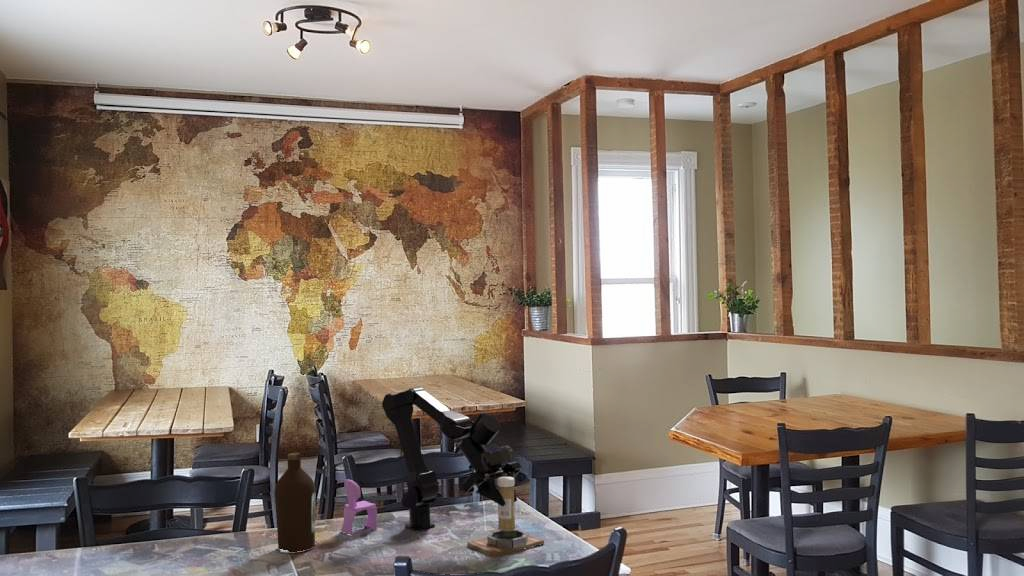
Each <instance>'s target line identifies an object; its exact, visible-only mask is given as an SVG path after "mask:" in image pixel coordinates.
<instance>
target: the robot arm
mask: <svg viewBox="0 0 1024 576" xmlns="http://www.w3.org/2000/svg"><path fill="white" fill-rule="evenodd" d="M414 405H415V407H417V408H418V409H419V410H421V411H422V412H423V413H424V414H426V415H427V416H428V417H430V419H432V420H433V421H435V422H436V423H437V424H438V425H439V428H440V432H441V433H442V434H443V435H444V436H445V437H446V438H447V439H448V440H450V441H455V440H460V439H462V440H461V441H460V442H457V443H455V448H454V454H456V455H457V454H463V456H464V457H465V459H466V460H467V461H468V463H469V466H468V469H469V470H470V471H472V470H474V472H471V473H469V475H468V476H467V477H466V479H465V480H464V481H463V482H462V483H461V488H462V491H463V492H464V494H465V495H469V494H473V493H474V491H475V487H476V488H477V490H476V491H475V493H476V494H477V495H481V496H483V497H485V498H487V499H489V500H491V501H493V502H494V503H496V504H497V505H498V504H499V505H501V506H504V505H505V501H504V499H503V498H502V496H501V494H500V493H499V491H498V486H496V484H495V483H496V482H495V481H497V479H498V478H499V477H513V478H514V479H515V477H516V476H517V475H518V474H519V472H521V470H523V467H522V465H521V463H520V462H518V461H512V457H513V456H514V451H513V449H512V447H510V445H504V446H501V447H500V449H498V450H495V451H492V450H489V451H488V450H487V448H486V447H485V446H487V445H489V444H490V443H491V442H492V440H493V439H494V438H495V437H496V435H497V434H498V433H499V432H500V430H501V423H500V422H499V420H497V419H495V418H494V417H493V416H490V415H488V414H487V412H480V413H479V415H478V416H477V418H476V419H475V421H473V420H472V419H471V418H470V417H469V416H466V415H465V414H462V413H461V412H457V411H453V410H451V409H449V408H448V407H446V405H444V404H442V403H441V402H440V401H439V400H437V399H436V398H435V397H433V396H432V395H431V394H430V393H428V392H427V391H426V389H425V388H424V387H421V386H419V387H410V388H409V389H407V390H404V391H399V392H394V393H387V394H385V395H384V397H383V400H382V401H381V406H382V409H383V411H384V413H385V416H386V418H387V419H388V420H389V421H390V422H391V423H392V424H393V425H394V427H395V430H396V433H397V437H398V440H399V444H400V447H401V452H402V453H403V458H404V459H405V463H406V467H407V470H408V476H407V477H408V478H407V480H406V481H407V482H406V487H407V492H406V493H405V495H404V496H402V498H401V503H402V504H401V505H402V507H403V508H407V509H408V511H409V523H405V524H404V527H406V528H409V529H411V530H413V531H420V530H424V529H429V528H433V527H435V526H436V525H435V523H432V522H431V512H430V511H431V509H430V508H431V507H430V506H431V504H436V502H437V497H438V493H439V491H440V489H439V485H440V482H439V481H438V478H437V474H436V472H435V470H429V469H428V468H427V467H426V466H427V465H426V464H425V460H424V457H423V454H422V450H421V447H420V442H419V441H418V440H419V439H418V437H417V434H416V430H415V427H414V425H413V421H412V419H413V418H412V417H413V414H414ZM508 461H511V462H508ZM505 462H508V463H506V464H505V465H504V464H503V463H505ZM501 468H502V469H501ZM474 486H475V487H474ZM517 501H518V498H517V494H516V490H515V489H514V503H516V502H517Z"/></svg>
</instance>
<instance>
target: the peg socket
mask: <svg viewBox="0 0 1024 576" xmlns="http://www.w3.org/2000/svg"><path fill="white" fill-rule="evenodd" d="M528 533H529V532H527V531H524V530H521V529H517V528H515V530H513V531H500V530H499V529H498V530H494V531H490V532H489V534H487V537H486V538H487V540H488V545H490V546H493V547H495V548H516V547H520V546H524V545H526V543H527V541H528V535H529V534H528Z"/></svg>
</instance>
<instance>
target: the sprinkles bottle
mask: <svg viewBox="0 0 1024 576" xmlns="http://www.w3.org/2000/svg"><path fill="white" fill-rule="evenodd" d="M515 484H516V481H515V477H514V478H513V477H499V478H498V479H497V480H496V485H497V486H498V487H497V486H496V487H497V489H498V491H499V493H500V494H501V496H502V498H503V499H504V501H505V505H504V506H501V505H499V504H498V503H497V518H498V519H497V520H498V526H497V527H498V530H500V531H513V530H515V529H516V520H515V519H516V518H515V517H516V508H515V507H516V506H515V502H514V490H515Z"/></svg>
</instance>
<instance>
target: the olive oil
mask: <svg viewBox="0 0 1024 576" xmlns="http://www.w3.org/2000/svg"><path fill="white" fill-rule="evenodd" d="M287 458H288V459H287V469H286V470H285V472H284V473H283V474H282V475H281V477H280V478H279V479H278V480H277V482H276V483H275V486H274V492H273V493H274V495H273V496H274V504H275V518H276V532H277V534H276V535H277V545H278V546H277V548H279V549H283V550H288V551H289V552H297V551H303V550H307V549H310V548H312V547H314V546H316V498H317V497H316V495H317V491H316V490H317V489H316V485H315V482H314V480H313V478H312V477H311V476H310V475H309V474H308V473H307V472H306V471H305V470H304V469H303V468H302V463H301V462H302V458H301V453H299V452H292V453H288V454H287ZM314 548H315V547H314ZM279 549H278V550H279Z"/></svg>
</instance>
